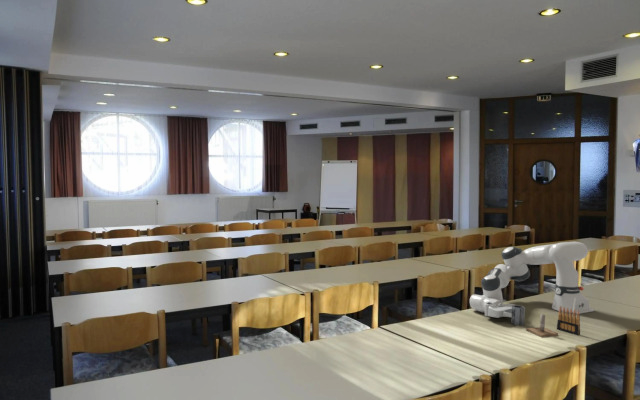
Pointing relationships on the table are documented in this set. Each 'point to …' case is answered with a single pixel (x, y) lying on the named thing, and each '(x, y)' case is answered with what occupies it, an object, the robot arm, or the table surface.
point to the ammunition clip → (568, 321)
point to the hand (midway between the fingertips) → (517, 314)
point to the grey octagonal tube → (518, 315)
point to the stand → (542, 329)
